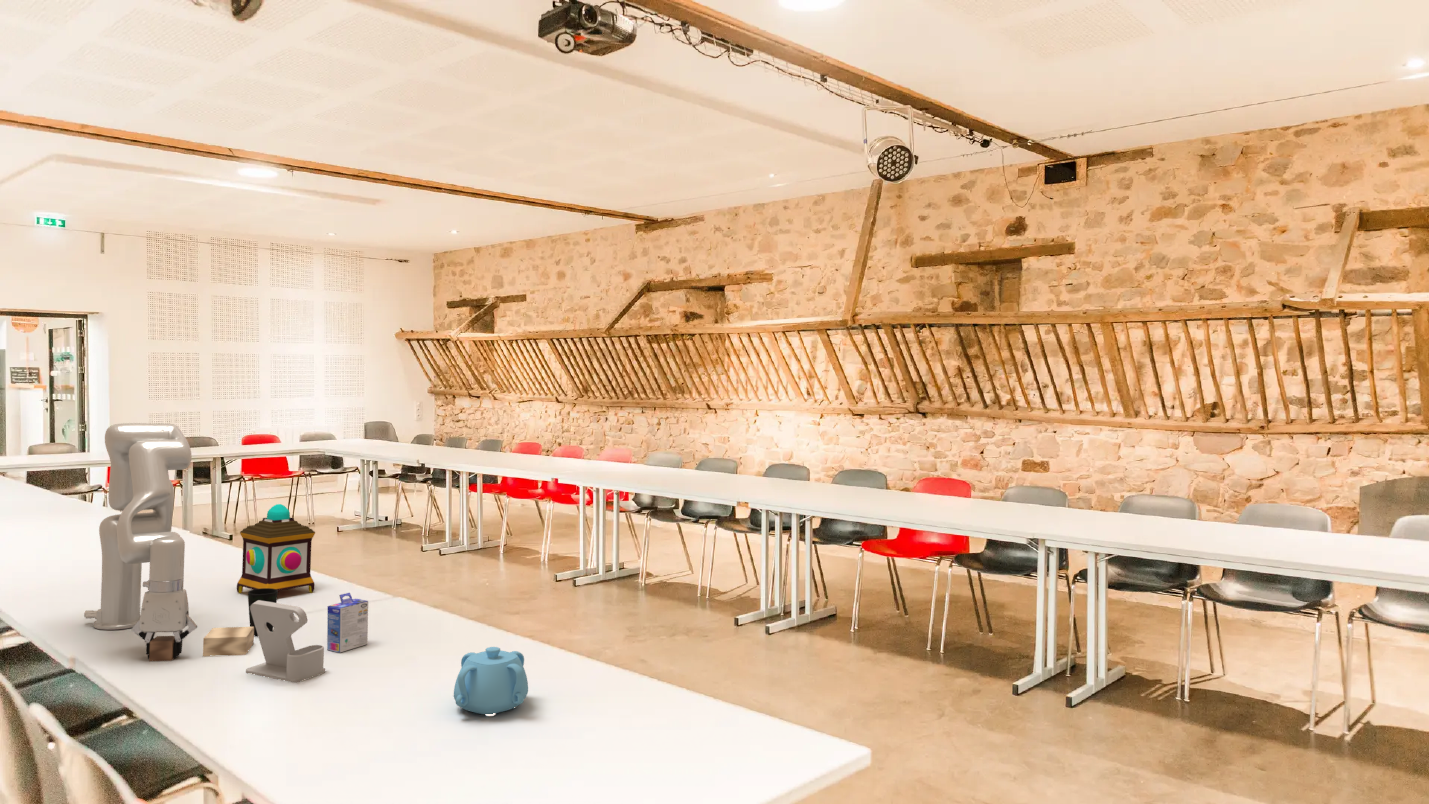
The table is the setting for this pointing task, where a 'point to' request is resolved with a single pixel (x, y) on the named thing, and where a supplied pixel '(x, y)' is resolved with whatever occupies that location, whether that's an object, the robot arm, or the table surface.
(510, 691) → the decorative pot
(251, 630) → the oak block
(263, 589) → the cup
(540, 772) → the table surface
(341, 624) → the ink cartridge box
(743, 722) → the table surface
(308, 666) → the phone holder
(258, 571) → the decorative lantern
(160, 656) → the walnut cube
